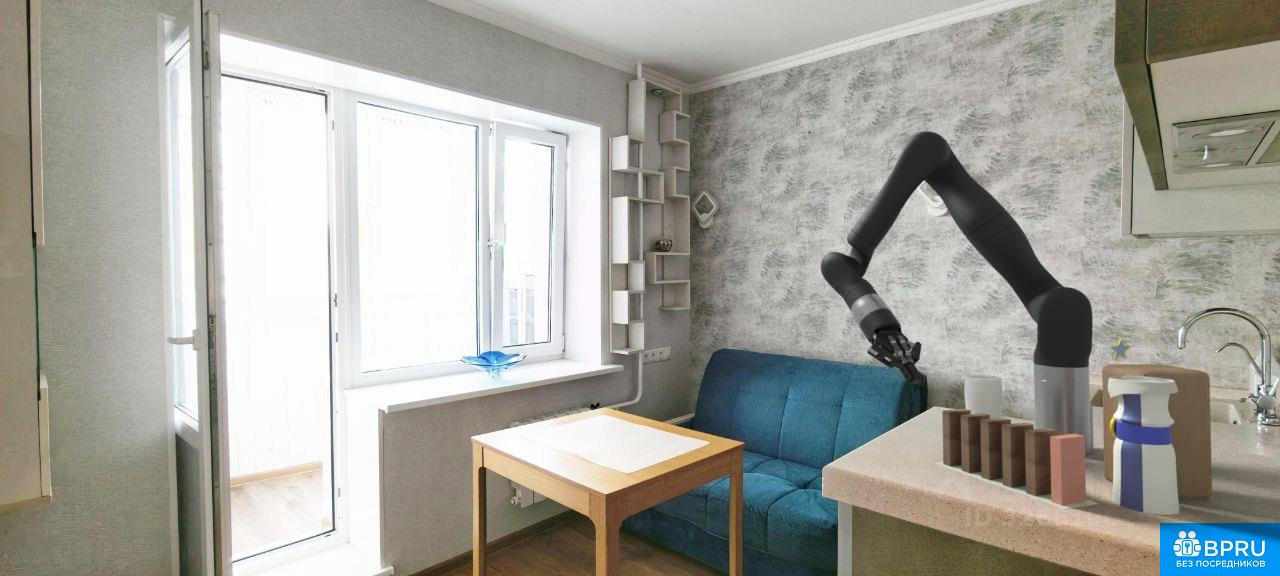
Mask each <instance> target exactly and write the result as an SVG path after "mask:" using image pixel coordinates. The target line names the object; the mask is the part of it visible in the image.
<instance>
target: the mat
mask: <svg viewBox="0 0 1280 576" xmlns="http://www.w3.org/2000/svg"><path fill="white" fill-rule="evenodd" d="M934 464H936V465H937V466H941V467H943V468H946V469H949V470H951V471H955V472H956V473H957V472H958V473H960V474H963V475H966V476H969V477H972V478H974V479H978V480H980V481H982V482H986V483H989V484H991V485H993V486H998V487H1001V488H1003V489H1005V490H1009V491H1011V492H1014V493H1017V494H1020V495H1023V496H1025V497H1028V498H1030V499H1034V500H1036V501H1040V502H1042V503H1045V504H1048V505H1051V506H1052V507H1053V506H1054V507H1056V508H1059V509H1063V510H1069V509H1075V508H1076V509H1077V508H1082V507H1087V506H1093V505H1095V506H1096V505H1099V502H1095V501H1093V500H1089V499H1087V498H1086V502H1081V503H1075V504H1068V505H1059V504H1056V503H1053V502H1051V494H1048V495H1042V496H1033V495H1030V494H1027V493H1026V486H1022V487H1015V488H1010V487H1007V486H1004V485H1003V479H996V480H987V479H984V478H981V472H975V473H967V472H964V471H962V465H959V466H951V467H950V466H947V465H944V464H943V461H939V462H934Z"/></svg>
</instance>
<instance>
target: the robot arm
mask: <svg viewBox="0 0 1280 576" xmlns="http://www.w3.org/2000/svg"><path fill="white" fill-rule="evenodd" d="M923 182H925V183H926V185H927V184H928V185H929V187H930V188H931V189H932V190H933V191H934V192H935V193H936V194H937V195H938V197H939V198H940V199H941V200H942V202H943V204H944V205H945V207H946V209H947V211H948V213H949V215H950V217H951V218H952V220H953V221H954V223H955V224H956V226H957V227H958V229H959V230H960V231H961V232H962V234H963V236H964V237H965V238H966V239H967V241H969V243H970V244H971V246H972V247H974V248H975V250H976V251H977V252H978V253H979V254H980V255H981V256H982V257H983V258H984V260H986V262H987V263H988V264H989V265H990V266H991V267H992V268H993V269H994V270H995V271H996V273H998V274H999V275H1000V276H1001V277H1002V278H1003V279H1004V280H1005V281H1006V283H1007V284H1008V285H1009V286H1010V287H1011V289H1012V290H1013V291H1014V293H1015V295H1016V296H1017V297H1018V299H1019V301H1020V302H1021V303H1022V305H1023V306H1024V308H1025V310H1026V311H1027V313H1028V314H1029V316H1030V318H1031V319H1032V320H1033V321H1034V322H1035V323H1036V327H1037V328H1036V330H1037V331H1036V334H1037V335H1036V337H1037V338H1036V346H1035V349H1034V351H1033V386H1034V387H1033V390H1034V392H1033V393H1034V429H1043V428H1051V429H1055V430H1058V436H1059V435H1068V434H1078V435H1082V436H1085V455H1088V454H1090V453H1091V451H1094V450H1095V449H1094V448H1095V447H1094V413H1093V412H1094V411H1093V410H1094V406H1093V403H1092V402H1091V401H1090V394H1091V393H1090V356H1091V354H1092V350H1093V325H1094V324H1093V321H1094V319H1093V308H1092V304H1091V301H1090V299H1089V298H1088V296H1086V294H1085V293H1084V292H1082V291H1081V290H1079V289H1077V288H1073V287H1069V286H1064V285H1063V284H1061V282H1059V281H1058V280H1057V279H1056V278H1055V277H1054V276H1053V275H1052V274H1051V273H1050V271H1048V269H1047V268H1045V267H1044V265H1043V263H1041V262H1040V260H1039V259H1038V257H1037V255H1036V253H1035V251H1034V249H1033V247H1032V245H1031V244H1030V241H1029V239H1028V237H1027V236H1026V233H1025V231H1024V230H1023V229H1022V228H1021V226H1020V225H1019V224H1018V222H1017V221H1016V219H1014V218H1013V217H1012V215H1011V214H1010V213H1009V211H1008V210H1007V209H1006V208H1005V207H1004V206H1003V205H1002V204H1001V203H1000V201H998V200H997V199H996V198H995V197H994V196H993V195H992V194H991V193H990V192H989V191H988V190H987V189H985V188H984V187H983V186H982V185H981V184H980V183H978V182H977V181H976V180H975V179H974V178H973V177H972V176H971V175H970V174H969V173H968V171H967V170H966V169H965V167H964V166H963V164H962V163H961V162H960V160H959V159H958V157H957V155H956V154H955V153H954V151H953V149H952V147H951V146H950V144H949V143H948V141H947V139H945V137H943V136H942V135H940V134H938V133H937V132H935V131H931V130H930V131H928V130H927V131H926V130H925V131H920V132H918V133H915V134H913V135H912V136H911V137H909V138H908V139H907V140H906V142H905V143H904V145H903V148H902V150H901V152H900V154H899V156H898V159H897V160H896V163H895V165H894V166H893V168H892V171H891V172H890V174H889V176H888V177H887V179H886V181H885V182H884V183H883V185H882V187H881V189H880V190H879V192H878V193H877V195H875V197H874V199H872V201H871V202H870V204H869V206H868V207H867V208H866V209H865V211H864V212H863V213H862V215H861V216H860V218H859V219H858V220H857V222H856V223H855V224H854V226H853V228H852V229H851V230H850V232H849V233H848V235H847V238H846V241H847V243H848V245H850V247H851V250H850V252H849V255H848V254H845V253H842V252H839V251H831V252H829V253H827V254H825V255H824V256H823V257H822V260H821V262H820V272H821V274H822V277H823V278H824V280H825V281H826V283H827V284H828V285H829V286H830V287H831V288H832V289H833V290H834V291H835V292H836V293H837V294H838V295H839V296H841V298H842V299H843V300H844V303H845V305H847V307H848V308H849V311H850V312H851V313H852V315H853V319H854V321H855V322H856V323H857V326H858V327H859V329H860V330H861V332H862V333H863V335H864V337H865V339H867V342H869V343H870V344H871V345H870V347H869V348H868V350H867V354H868V355H869V356H871V357H872V358H874V359H876V360H877V361H879V362H880V363H882V364H883V365H885V366H886V367H888V368H889V369H893V368H894V369H897V370H898V371H900V373H901V374H902V376H903V377H904V379H905V380H906V381H907V382H908V383H909V384H910V385H913V384H919V382H920V381H921V380H922V374H921V372H919V371H920V370H918V367H916V365H917V363H918V362H919V361H920V359H921V350H922V343H921V342H919V341H915V342H913V341H910V340H909V338H908V337H907V336H906V335H905V334H904V333H903V331H902V325H901V323H900V322H899V320H898V318H897V317H896V316H895V315H894V313H893V312H892V310H891V309H890V307H889V306H888V305H887V303H886V301H885V300H883V299H882V297H881V296H880V295H879V294H878V291H876V289H875V288H874V287H873V285H872V284H871V282H870V281H868V280H867V279H865V278H864V276H865V274H867V270H868V268H869V266H870V263H871V261H872V258H873V255H874V252H875V250H876V249H877V247H878V246H879V245H880V244H881V242H882V241H883V239H884V238H885V236H887V234H888V233H889V232H890V230H891V228H892V226H894V224H895V222H896V221H897V218H898V217H899V215H900V214H901V211H902V210H903V208H904V207H905V205H906V203H907V202H908V200H909V199H910V197H911V196H912V195H913V194H914V192H915V191H916V190H917V189H918V188H919V187H920V185H921V184H922V183H923Z"/></svg>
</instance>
